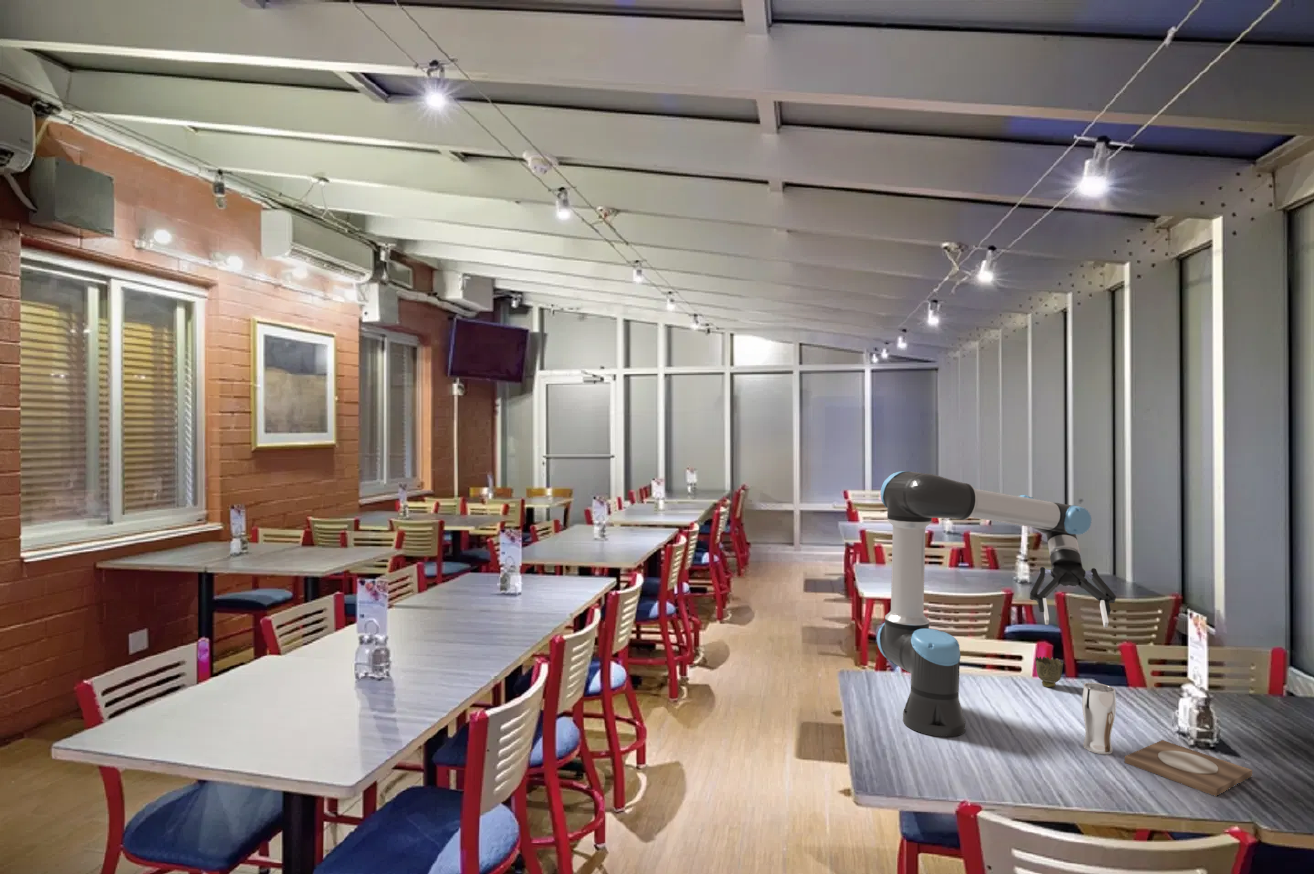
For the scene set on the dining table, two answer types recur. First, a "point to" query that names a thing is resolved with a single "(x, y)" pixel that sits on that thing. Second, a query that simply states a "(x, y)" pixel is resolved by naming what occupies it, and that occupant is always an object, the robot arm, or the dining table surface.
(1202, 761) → the serving board
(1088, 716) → the beer glass
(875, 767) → the dining table surface
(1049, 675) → the cup
